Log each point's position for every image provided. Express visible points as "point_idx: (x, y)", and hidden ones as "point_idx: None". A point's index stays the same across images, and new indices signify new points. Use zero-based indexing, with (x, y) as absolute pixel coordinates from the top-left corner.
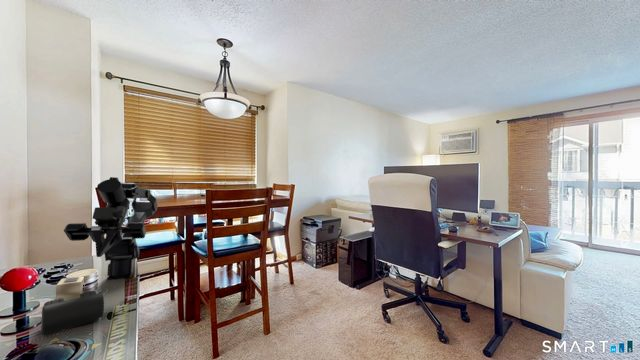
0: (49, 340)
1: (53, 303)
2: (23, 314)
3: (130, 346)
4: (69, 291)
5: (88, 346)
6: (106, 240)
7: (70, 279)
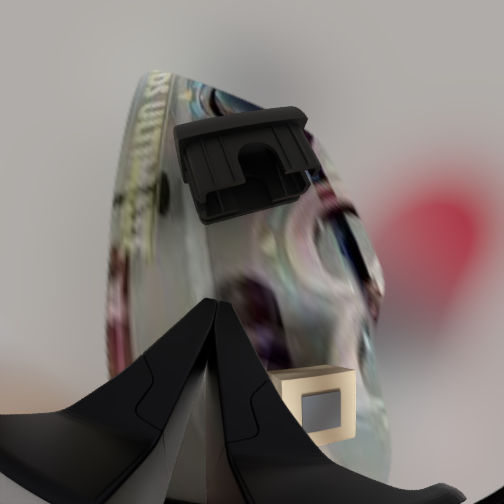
0: None
1: (296, 144)
2: (371, 309)
3: (141, 77)
4: (305, 371)
5: (197, 96)
6: (147, 397)
7: (326, 414)
